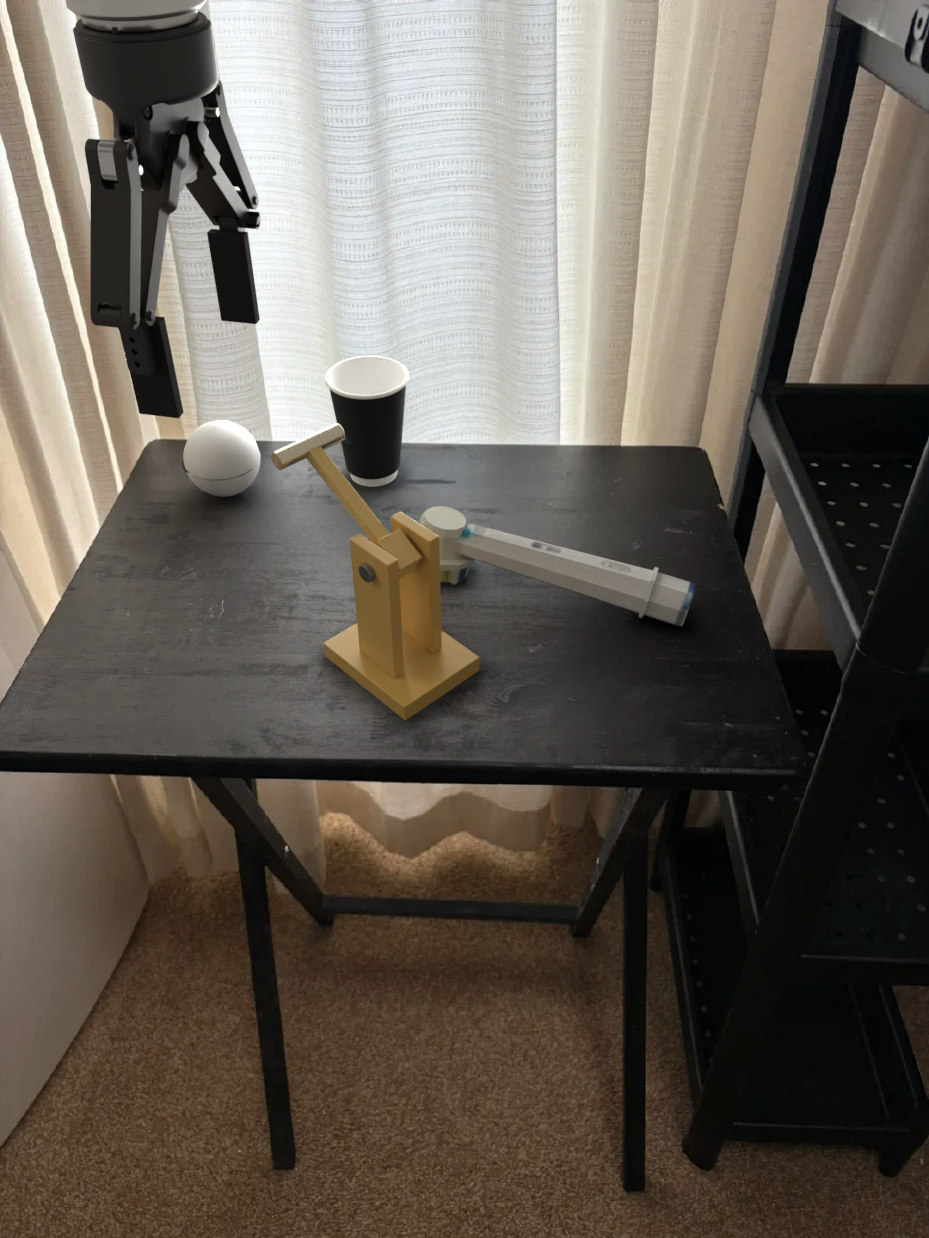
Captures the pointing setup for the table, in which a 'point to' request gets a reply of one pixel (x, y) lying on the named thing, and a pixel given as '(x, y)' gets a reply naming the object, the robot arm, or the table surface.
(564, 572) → the white handheld electric wand
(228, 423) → the white sphere
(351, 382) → the dixie cup
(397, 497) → the table surface
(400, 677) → the yellow lever stand
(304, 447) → the tap lever
